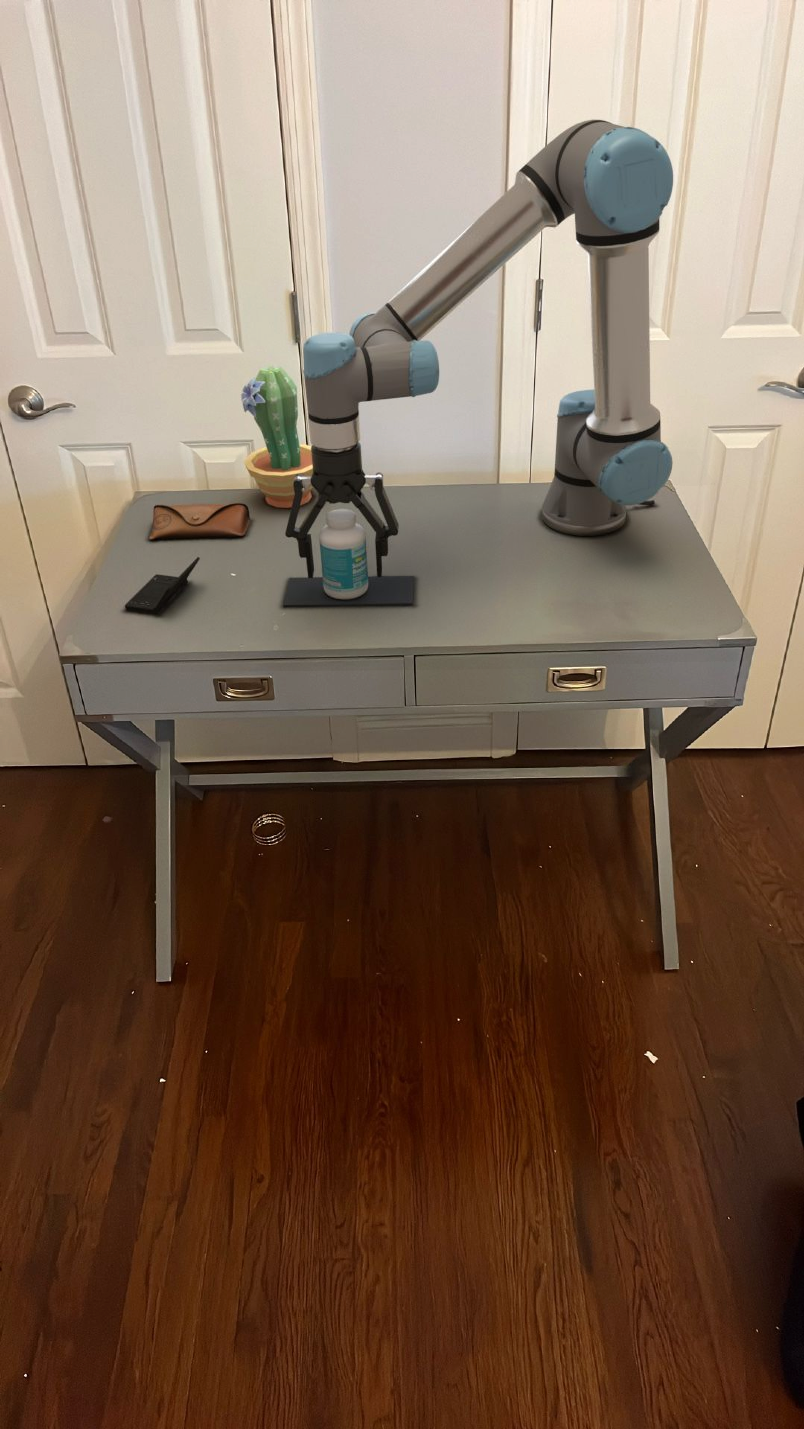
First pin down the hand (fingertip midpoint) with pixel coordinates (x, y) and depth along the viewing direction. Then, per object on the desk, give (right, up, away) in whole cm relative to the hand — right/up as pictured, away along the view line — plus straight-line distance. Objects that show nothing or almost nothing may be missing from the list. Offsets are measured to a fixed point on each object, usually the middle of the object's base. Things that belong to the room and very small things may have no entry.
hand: (345, 573), depth 162 cm
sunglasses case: (-28, +11, +22) cm, 38 cm away
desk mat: (+1, -3, +2) cm, 4 cm away
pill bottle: (0, -3, +2) cm, 3 cm away
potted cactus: (-13, +19, +32) cm, 40 cm away
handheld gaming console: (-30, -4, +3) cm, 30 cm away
